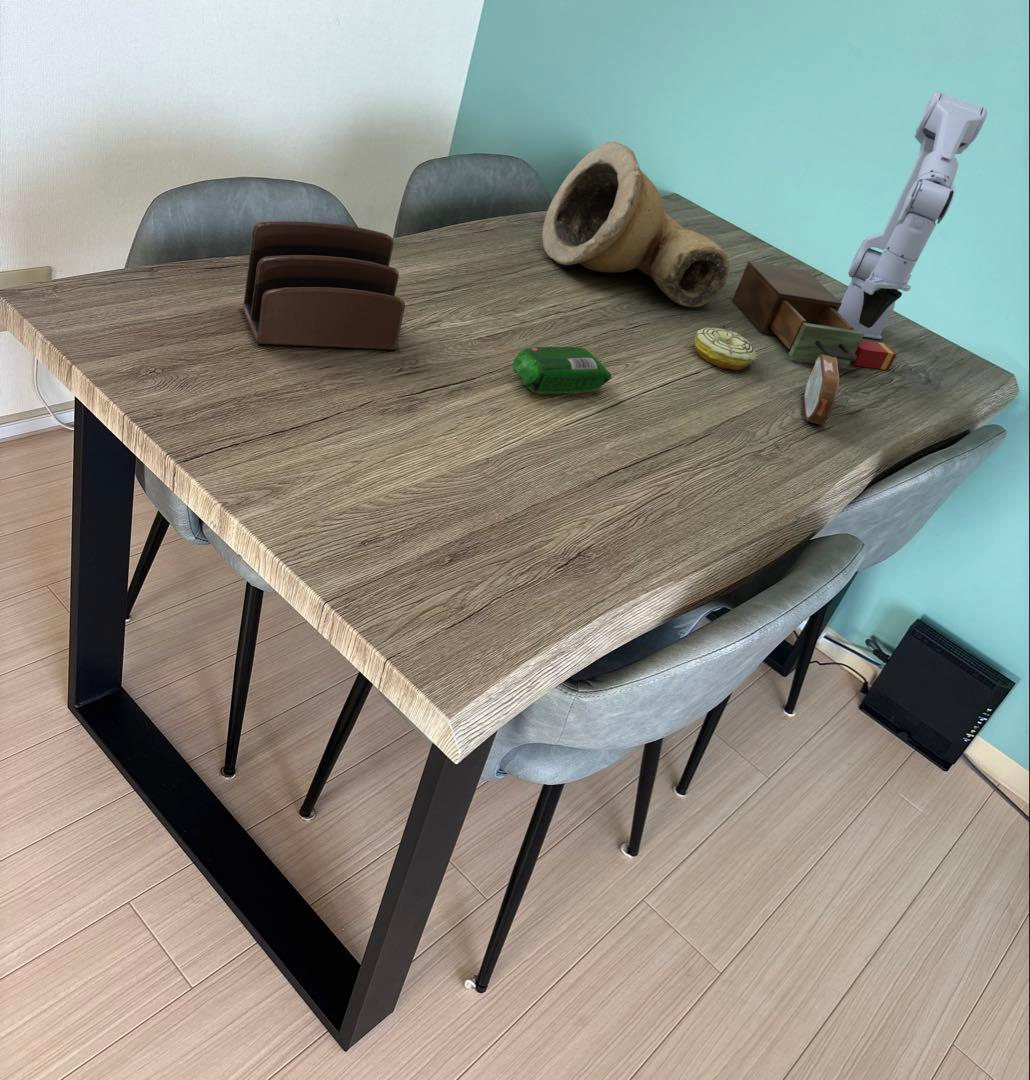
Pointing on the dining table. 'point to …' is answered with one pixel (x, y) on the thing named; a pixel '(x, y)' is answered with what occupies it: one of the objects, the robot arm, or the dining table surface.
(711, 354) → the decorated donut
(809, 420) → the tin
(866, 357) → the chocolate bar
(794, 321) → the drawer
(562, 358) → the snack package
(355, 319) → the letter holder
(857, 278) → the robot arm
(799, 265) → the dining table surface
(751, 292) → the cabinet
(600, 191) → the pipe
